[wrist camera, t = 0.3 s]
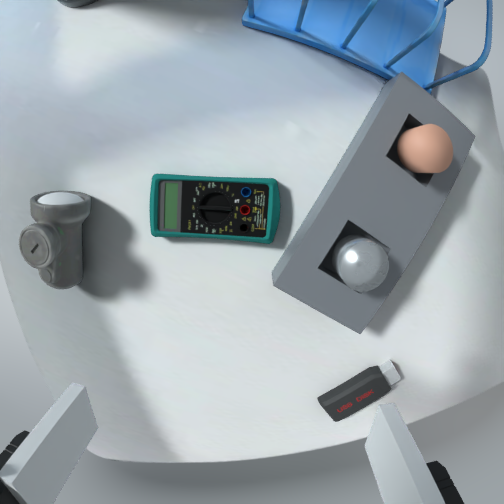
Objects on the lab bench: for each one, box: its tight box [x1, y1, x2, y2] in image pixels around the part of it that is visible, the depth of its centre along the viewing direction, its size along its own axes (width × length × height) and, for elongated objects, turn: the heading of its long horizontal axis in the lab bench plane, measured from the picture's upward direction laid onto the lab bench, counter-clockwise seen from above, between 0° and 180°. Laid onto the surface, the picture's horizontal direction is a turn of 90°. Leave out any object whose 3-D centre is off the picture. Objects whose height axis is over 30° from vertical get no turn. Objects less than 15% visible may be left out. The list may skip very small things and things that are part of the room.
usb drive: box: [318, 360, 401, 422], centre depth 41 cm, size 5×12×3 cm, turn 125°
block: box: [272, 72, 475, 334], centre depth 33 cm, size 28×12×5 cm, turn 149°
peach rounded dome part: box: [397, 124, 453, 173], centre depth 28 cm, size 5×5×4 cm
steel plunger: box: [332, 234, 389, 292], centre depth 31 cm, size 5×5×4 cm
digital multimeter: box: [150, 174, 280, 244], centre depth 36 cm, size 7×15×3 cm, turn 86°
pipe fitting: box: [19, 191, 91, 289], centre depth 33 cm, size 12×8×10 cm
